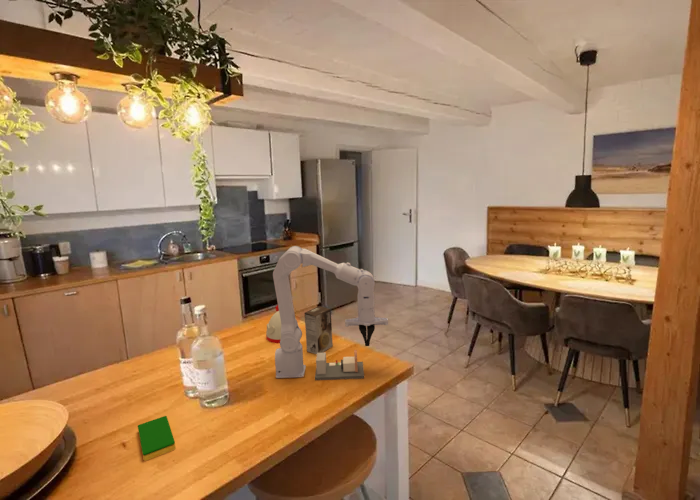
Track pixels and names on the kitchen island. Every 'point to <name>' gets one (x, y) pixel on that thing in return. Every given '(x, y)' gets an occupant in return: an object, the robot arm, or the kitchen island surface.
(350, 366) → the cream and red block
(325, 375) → the board
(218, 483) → the kitchen island surface
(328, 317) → the coffee box
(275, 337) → the kitchen timer
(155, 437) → the dish sponge
